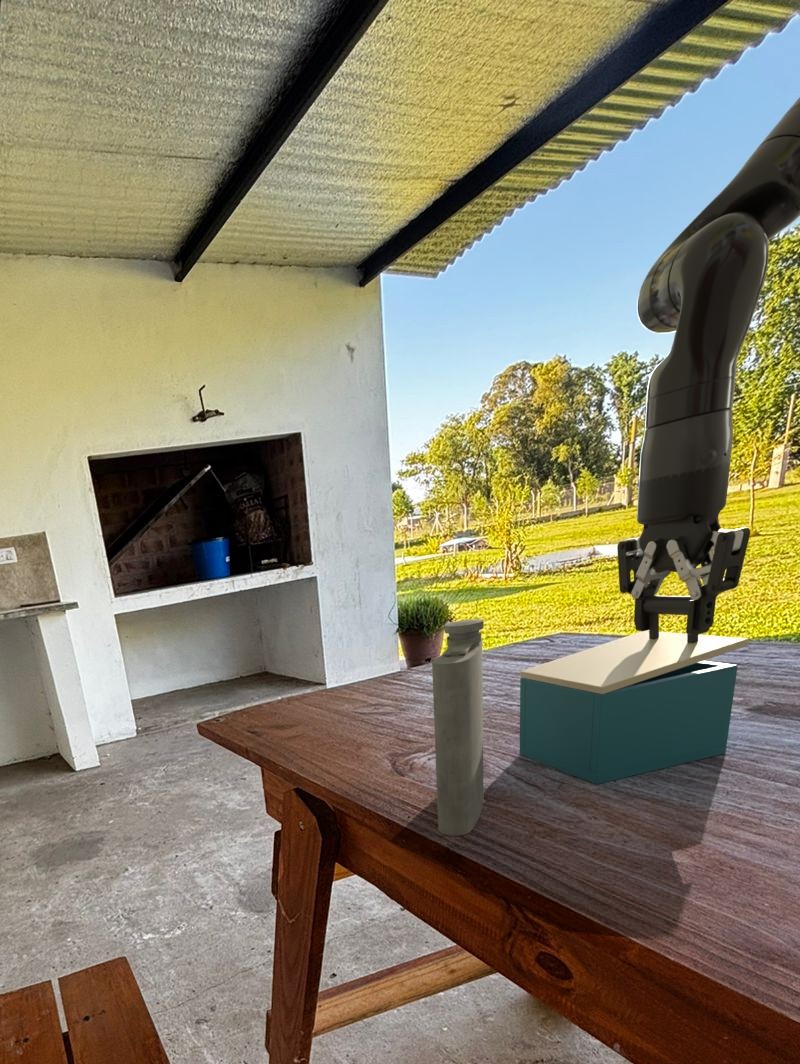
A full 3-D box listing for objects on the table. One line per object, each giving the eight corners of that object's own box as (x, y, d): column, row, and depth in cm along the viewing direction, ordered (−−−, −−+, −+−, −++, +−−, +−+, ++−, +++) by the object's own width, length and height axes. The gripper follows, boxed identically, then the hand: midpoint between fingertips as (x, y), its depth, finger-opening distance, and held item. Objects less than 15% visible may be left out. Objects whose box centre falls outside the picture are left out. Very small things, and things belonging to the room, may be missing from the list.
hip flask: (452, 778, 75) (448, 612, 68) (489, 778, 73) (488, 607, 66) (436, 835, 63) (428, 637, 55) (480, 837, 61) (477, 632, 54)
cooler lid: (644, 636, 77) (644, 589, 74) (748, 645, 64) (751, 590, 62) (520, 677, 76) (516, 630, 73) (602, 694, 63) (600, 639, 61)
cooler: (630, 728, 81) (636, 652, 77) (725, 753, 68) (738, 664, 65) (519, 754, 79) (520, 677, 76) (596, 784, 67) (601, 695, 63)
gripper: (788, 447, 57) (764, 628, 63) (656, 474, 71) (646, 621, 77) (716, 462, 57) (699, 644, 63) (597, 486, 70) (592, 634, 76)
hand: (670, 631), depth 70 cm, fingers closed on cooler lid, 6 cm apart
